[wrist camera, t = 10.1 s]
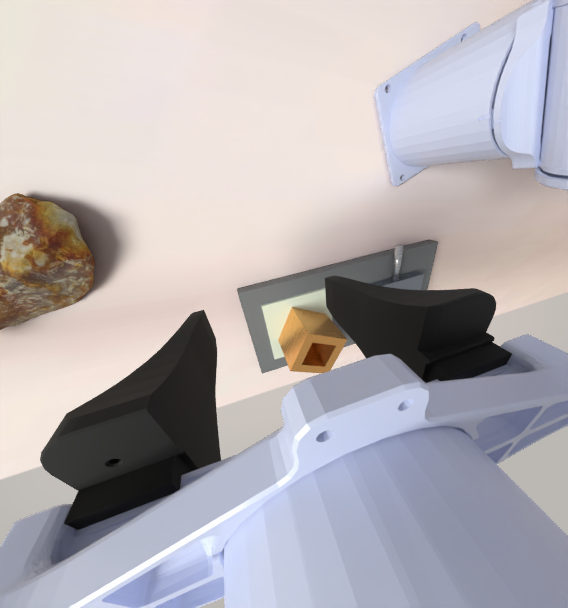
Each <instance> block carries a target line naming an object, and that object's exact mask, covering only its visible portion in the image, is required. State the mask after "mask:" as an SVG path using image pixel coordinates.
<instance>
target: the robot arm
mask: <svg viewBox="0 0 568 608" xmlns="http://www.w3.org/2000/svg"><path fill="white" fill-rule="evenodd" d="M461 38H462V42H461ZM386 87H387V88H388V91H387V93H386V91H385V88H386ZM375 101H376V107H377V112H378V117H379V122H380V128H381V133H382V138H383V143H384V148H385V154H386V159H387V164H388V169H389V175H390V180H391V184H392V185H393V186H398V185H400V184H402V183H403V182H405V181H406V180H408V179H409V178H411V177H413V176H414V175H416V174H417V173H419V172H420V171H422V170H423V169H425V168H427V167H428V166H430V165H439V164H450V163H461V162H472V161H483V160H493V159H504V158H511V160H512V164H513V169H523V168H535V174H534V175H535V178H536V180H537V181H538V182H539V183H540V184H542V185H544V186H547V187H551V188H555V189H563V190H568V0H532V1H530V2H528V3H527V4H525V5H523V6H522V7H520V8H518V9H516V10H515V11H513V12H511V13H510V14H508V15H506V16H505V17H503V18H501V19H499V20H498V21H496V22H494V23H493V24H491V25H489V26H487V27H486V28H484V29H482V30H481V31H480V25H479V23H478V22H475V23H473V24H472V25H470V26H469V27H467V28H466V29H464V30H463V31H461V32H460V33H458V34H457V35H455V36H454V37H452V38H451V39H449V40H448V41H446V42H445V43H443V44H441V45H440V46H438V47H437V48H435V49H434V50H432V51H431V52H429V53H428V54H426V55H425V56H423V57H422V58H420V59H419V60H417V61H416V62H414V63H413V64H411V65H410V66H408V67H407V68H405V69H404V70H402V71H401V72H399V73H398V74H396V75H395V76H393V77H392V78H390V79H389V80H387V81H386V82H384V83H383V84H381V85H380V86H378V87H377V88H376V90H375ZM401 176H402V178H401V180H400V177H401ZM325 292H326V307H327V308H328V310H329V312H330V313H331V315H332V316H333V318H334V319H335V320H336V322H337V323H338V324H339V325H340V326H341V327H342V329H343V330H344V331H345V332H346V333H347V334H348V335H349V336H350V338H351V339H352V340H353V341H354V342H355V343H356V345H357V346H358V347H359V348H360V350H361V351H362V353H363V354H364V356H365V357H366V359H363V360H360V361H357V362H354V363H352V364H349V365H346V366H343V367H340V368H337V369H334V370H331V371H328V372H325V373H322V374H319V375H316V376H313V377H310V378H307V379H306V380H304V381H302V382H300V383H298V384H296V385H295V386H293V388H292V389H291V390H290V391H289V392H288V393H287V395H286V396H285V397H284V398H283V401H282V407H281V413H282V416H283V420H284V426H283V427H282V428H280V429H278V430H277V431H275V432H273V433H271V434H270V435H268V436H267V437H265V438H264V439H262V440H260V441H258V442H257V443H255V444H253V445H252V446H250V447H248V448H247V449H245V450H244V451H242V452H241V453H239V454H237V455H234V456H232V457H229V458H226V459H224V460H221V457H220V448H219V438H218V426H217V414H216V398H215V385H216V366H217V346H216V338H215V336H214V333H213V331H212V328H211V326H210V324H209V321H208V319H207V316H206V314H205V312H204V310H202V311H198V312H194V313H192V314H191V315H190V316H189V317H188V318H187V320H186V321H185V322H184V323H183V325H182V326H181V327H180V328H179V329H178V331H177V332H176V333H175V334H174V335H173V336H172V337H171V338H170V340H169V341H168V342H167V343H166V344H165V345H164V346H163V347H162V348H161V349H160V350H159V351H158V352H157V353H156V354H155V355H153V356H152V357H151V358H150V359H149V360H148V361H147V362H145V363H144V364H143V365H142V366H140V367H139V368H138V369H136V370H135V371H134V372H133V373H131V374H130V375H129V376H127V377H126V378H124V379H123V380H122V381H120V382H119V383H117V384H116V385H114V386H113V387H111V388H110V389H108V390H106V391H105V392H103V393H102V394H100V395H98V396H97V397H95V398H93V399H92V400H90V401H88V402H86V403H85V404H83V405H81V406H79V407H78V408H76V409H74V410H72V411H71V412H69V413H67V414H66V416H65V417H64V419H63V420H62V422H61V423H60V425H59V426H58V428H57V429H56V431H55V433H54V434H53V436H52V437H51V439H50V440H49V442H48V443H47V445H46V446H45V448H44V449H43V451H42V452H41V458H40V461H41V463H42V465H43V467H44V469H45V470H46V471H47V472H49V473H50V474H51V475H52V476H54V477H56V478H58V479H59V480H61V481H63V482H64V483H66V484H68V485H69V486H71V487H73V488H74V489H76V490H78V494H77V496H76V498H75V500H74V502H73V504H62V505H58V506H54V507H52V508H49V509H46V510H43V511H41V512H38V513H35V514H33V515H30V516H27V517H24V518H22V519H19V520H18V521H16V522H15V523H14V525H13V526H12V528H11V530H10V531H9V533H8V535H7V536H6V538H5V540H4V541H3V543H2V545H1V546H0V608H199V607H201V606H204V605H207V604H209V603H212V602H214V601H217V600H219V599H222V598H224V601H225V608H568V536H567V535H566V534H565V533H564V532H563V531H562V530H561V529H560V528H559V527H558V526H557V525H556V524H555V523H554V522H553V521H552V520H551V519H550V518H549V517H548V516H547V515H546V513H545V512H544V511H542V510H541V508H540V507H539V506H538V505H536V503H534V501H532V500H531V498H530V497H528V496H527V494H526V493H525V492H524V491H523V490H522V489H521V488H519V486H518V485H516V483H515V482H514V481H513V480H511V478H510V477H509V476H508V475H507V474H506V473H505V472H504V471H503V470H502V469H501V468H499V466H497V464H498V463H500V462H502V461H504V460H505V459H507V458H509V457H511V456H512V455H514V454H516V453H517V452H519V451H521V450H522V449H524V448H526V447H528V446H530V445H531V444H533V443H535V442H537V441H539V440H540V439H542V438H544V437H546V436H548V435H550V434H552V433H554V432H556V431H558V430H560V429H562V428H564V427H566V426H568V353H566V352H564V351H562V350H560V349H558V348H555V347H554V346H552V345H549V344H547V343H545V342H543V341H541V340H539V339H537V338H535V337H533V336H531V335H529V334H527V335H522V336H520V337H517V338H514V339H512V340H509V341H507V342H505V343H503V344H502V345H501V346H498V345H496V344H494V343H493V342H492V341H494V337H493V336H491V335H490V334H488V333H486V331H487V329H488V327H489V325H490V322H491V320H492V318H493V316H494V313H495V310H496V301H495V299H494V297H493V296H492V295H490V294H488V293H486V292H483V291H481V290H478V289H474V288H471V289H456V290H409V289H398V288H390V287H383V286H378V285H373V284H369V283H364V282H360V281H356V280H353V279H349V278H345V277H341V276H330V277H326V278H325Z"/></svg>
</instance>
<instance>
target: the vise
mask: <svg viewBox="0 0 568 608" xmlns="http://www.w3.org/2000/svg"><path fill="white" fill-rule="evenodd" d="M403 247H404V246H403V245H396V246H395V253H394V261H393V269H392V276H391V277H390V278H386V279H383V280H379V281H376V282H372V283H369V284H373V285H378V286H383V287H390V288H398V289H409V290H421V287H422V282H423V277H424V274H423V273H421V272H418V271H416V270H415V271H412V272H408V273H404V274H401V275H399V274H400V267H401V261H402V254H403Z"/></svg>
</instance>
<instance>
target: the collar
mask: <svg viewBox="0 0 568 608" xmlns="http://www.w3.org/2000/svg"><path fill="white" fill-rule="evenodd" d="M278 341H279V344H280V346H281V349H282V351H283V354H284V356H285V359H286V361H287V364H288V366H289V369H290V371H297V372H312V373H325V372H328V371H330V370H331V368H332V366H333V364H334V363H335V361H336V359H337V357H338V356H339V354H340V352H341V350H342V348H343V347H344V345H345V343H346V341H347V338H346V337H345V336H344V335H343V334H342V332H341V331H340V330H339V329H338V328H337V326H336V325H335V324H334V323H333V322H332V321H331V319H330V318H329V317H328V316H327V315H326V314H324V313H319V312H314V311H309V310H304V309H299V308H294V307H291V310H290V312H289V315H288V317H287V320H286V322H285V325H284V327H283V330H282V332H281V334H280V337H279V339H278Z"/></svg>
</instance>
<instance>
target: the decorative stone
mask: <svg viewBox="0 0 568 608" xmlns="http://www.w3.org/2000/svg"><path fill="white" fill-rule="evenodd" d="M94 265H95V261H94V258H93V256H92V254H91V252H90V251H89V249H88V247H87V245H86V243H85V241H84V239H83V238H82V236H81V233H80V230H79V227H78V223H77V219H76V217H75V216H74V215H73V214H71V213H69V212H68V211H66V210H64V209H63V208H61V207H60V206H58V205H56V204H54V203H53V202H51V201H41V200H38V199H34V198H28V197H26V196H24V195H22V194H18V193H17V194H13V195H11V196H10V197H8V198H6V199H5V200H4V201H3V202H1V203H0V330H1V329H3V328H5V327H8V326H16V325H19V324H21V323H23V322H25V321H27V320H29V319H31V318H34V317H37V316H39V315H42V314H44V313H49V312H52V311H55V310H58V309H61V308H64V307H67V306H69V305H72V304H74V303H76V302H78V301H79V300H80V299H82V297H83V296H84V295H85V294H86V292H87V291H89V290H90V289H91V287H92V286H93V280H94V278H93V270H94Z"/></svg>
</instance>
